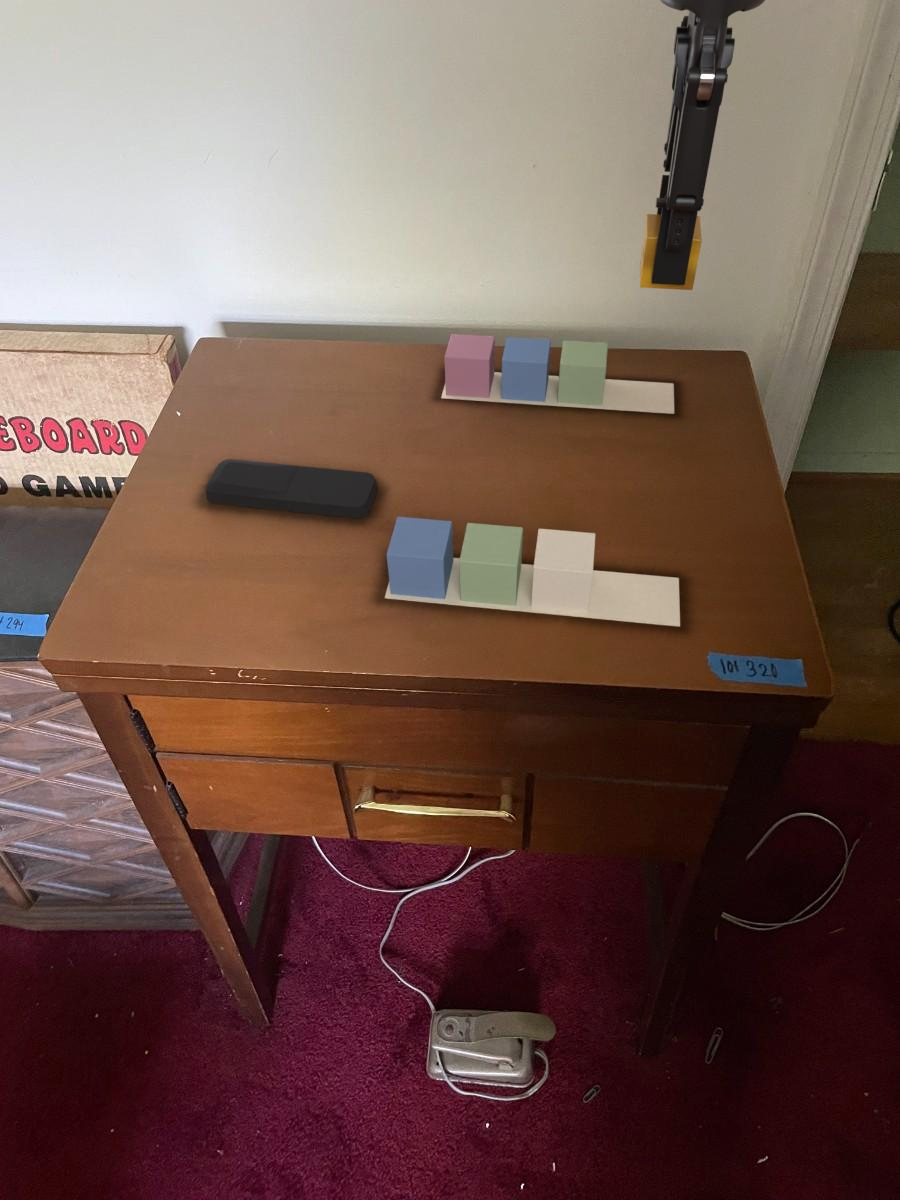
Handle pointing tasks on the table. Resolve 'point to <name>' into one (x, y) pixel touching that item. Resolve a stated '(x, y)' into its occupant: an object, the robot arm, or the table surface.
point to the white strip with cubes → (521, 574)
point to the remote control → (292, 488)
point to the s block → (650, 250)
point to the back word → (545, 376)
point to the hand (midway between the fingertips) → (667, 267)
